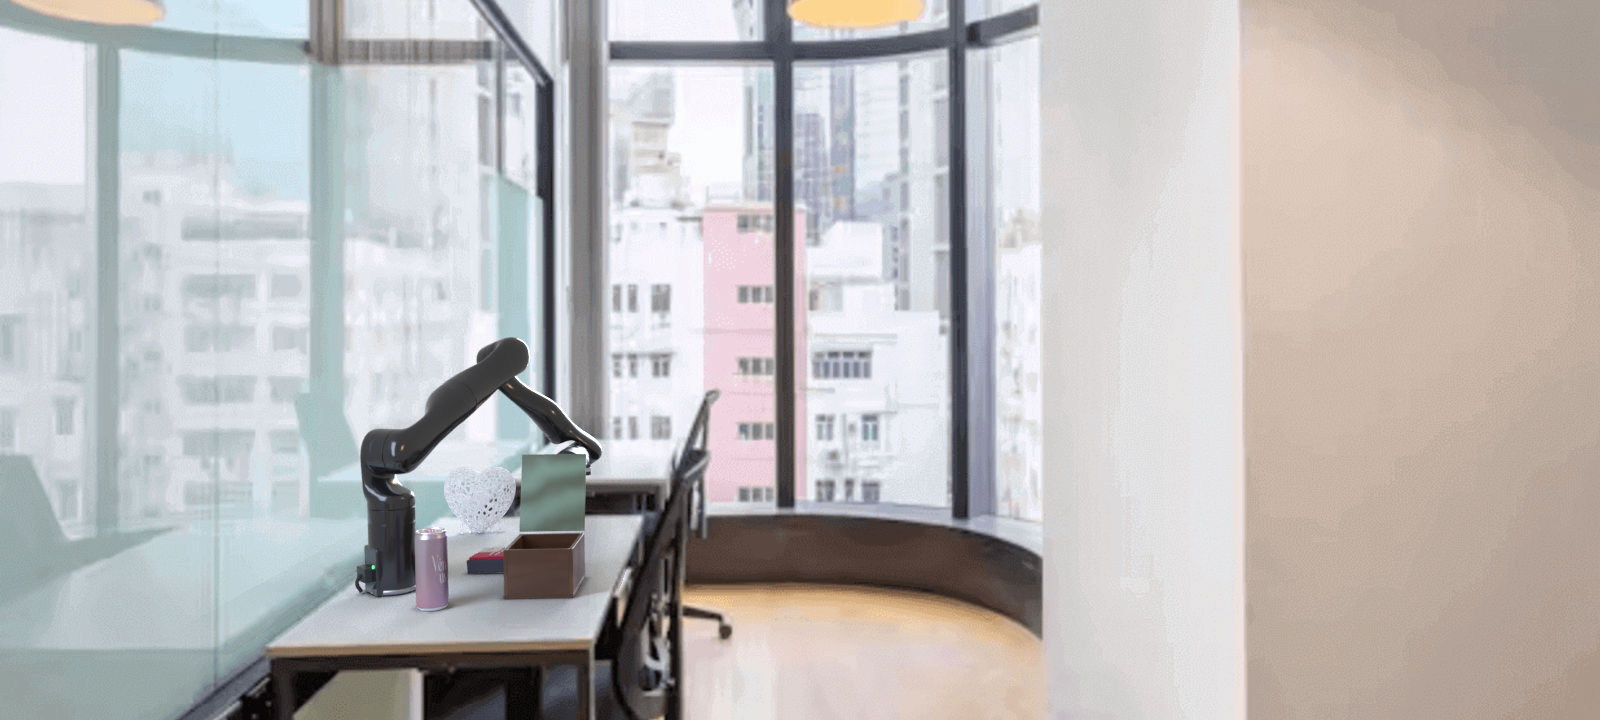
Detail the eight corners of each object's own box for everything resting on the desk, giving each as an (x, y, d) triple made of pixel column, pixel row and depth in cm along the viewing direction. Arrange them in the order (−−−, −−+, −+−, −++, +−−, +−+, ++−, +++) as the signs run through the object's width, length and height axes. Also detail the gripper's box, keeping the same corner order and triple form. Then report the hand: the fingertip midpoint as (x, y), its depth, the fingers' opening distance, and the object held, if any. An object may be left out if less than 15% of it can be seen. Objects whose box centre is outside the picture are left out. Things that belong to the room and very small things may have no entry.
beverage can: (437, 601, 211) (436, 526, 210) (455, 606, 207) (453, 529, 206) (410, 608, 206) (408, 531, 205) (427, 613, 202) (425, 535, 202)
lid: (585, 453, 231) (586, 454, 232) (522, 454, 230) (522, 455, 231) (584, 530, 227) (584, 530, 228) (519, 531, 227) (520, 531, 228)
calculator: (483, 546, 243) (548, 543, 242) (484, 565, 243) (549, 562, 242) (465, 557, 232) (533, 554, 231) (466, 577, 232) (534, 574, 231)
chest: (573, 597, 213) (572, 549, 212) (504, 599, 212) (503, 550, 212) (585, 578, 228) (584, 532, 228) (520, 579, 228) (519, 533, 227)
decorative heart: (439, 538, 270) (438, 470, 269) (450, 529, 281) (449, 464, 280) (512, 536, 271) (510, 469, 270) (520, 527, 282) (519, 463, 281)
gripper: (540, 448, 250) (525, 459, 233) (597, 447, 251) (586, 458, 233) (541, 480, 250) (526, 493, 233) (598, 479, 251) (587, 492, 234)
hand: (556, 475), depth 233 cm, fingers closed
